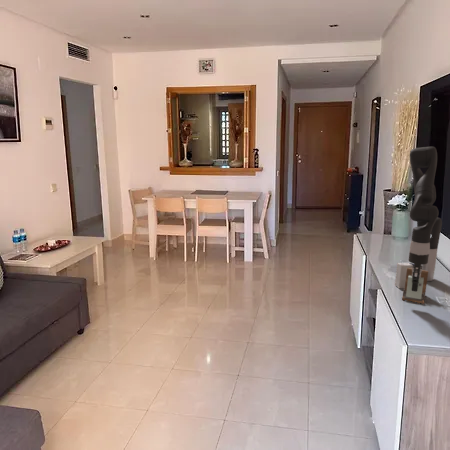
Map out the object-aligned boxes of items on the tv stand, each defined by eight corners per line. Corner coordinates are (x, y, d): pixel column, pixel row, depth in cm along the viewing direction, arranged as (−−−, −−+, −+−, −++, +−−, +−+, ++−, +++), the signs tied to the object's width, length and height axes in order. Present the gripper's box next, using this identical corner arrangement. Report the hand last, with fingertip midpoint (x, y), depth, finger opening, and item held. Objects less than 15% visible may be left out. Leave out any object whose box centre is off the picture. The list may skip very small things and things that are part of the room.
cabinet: (404, 291, 197) (407, 267, 194) (425, 295, 192) (428, 270, 190) (401, 300, 186) (404, 274, 183) (423, 304, 182) (427, 278, 179)
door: (406, 294, 180) (408, 275, 178) (421, 297, 177) (423, 277, 175) (405, 297, 177) (408, 277, 175) (420, 300, 174) (423, 280, 172)
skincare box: (405, 285, 205) (408, 262, 202) (410, 288, 200) (413, 265, 198) (394, 285, 204) (396, 262, 201) (398, 288, 200) (401, 265, 197)
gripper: (410, 246, 180) (406, 283, 184) (408, 254, 168) (403, 293, 172) (429, 248, 177) (424, 286, 181) (428, 257, 165) (423, 297, 169)
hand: (414, 289), depth 177 cm, fingers closed on door, 2 cm apart
